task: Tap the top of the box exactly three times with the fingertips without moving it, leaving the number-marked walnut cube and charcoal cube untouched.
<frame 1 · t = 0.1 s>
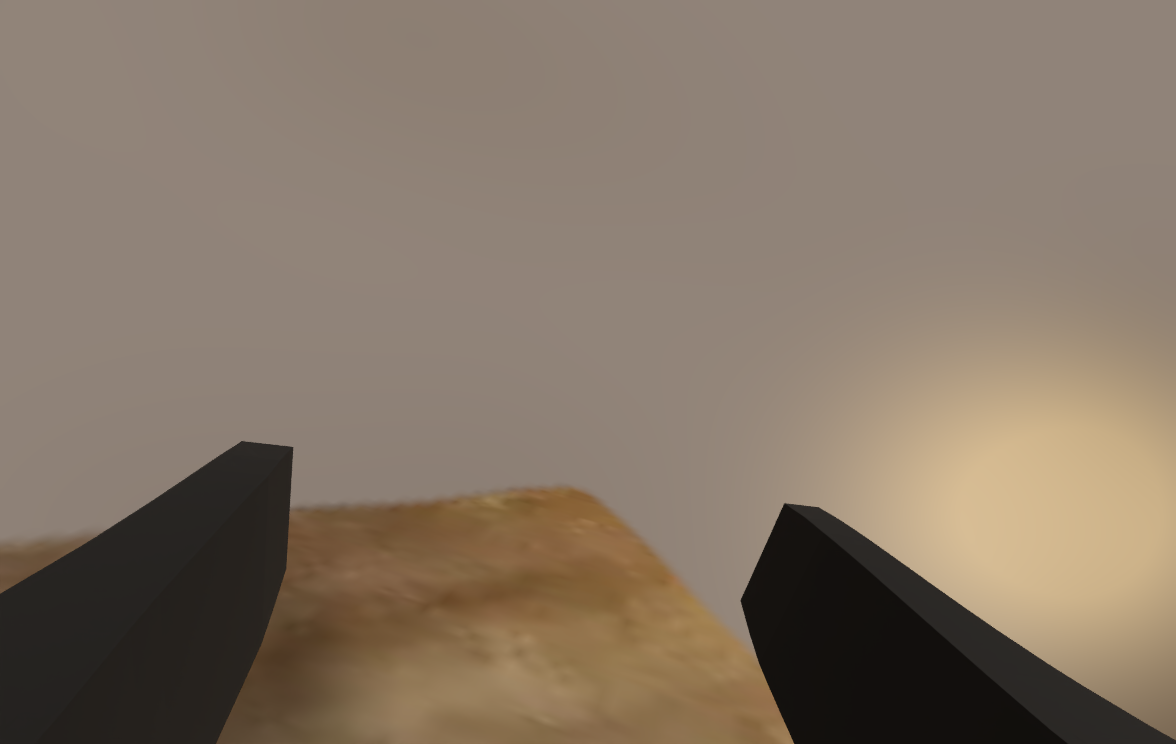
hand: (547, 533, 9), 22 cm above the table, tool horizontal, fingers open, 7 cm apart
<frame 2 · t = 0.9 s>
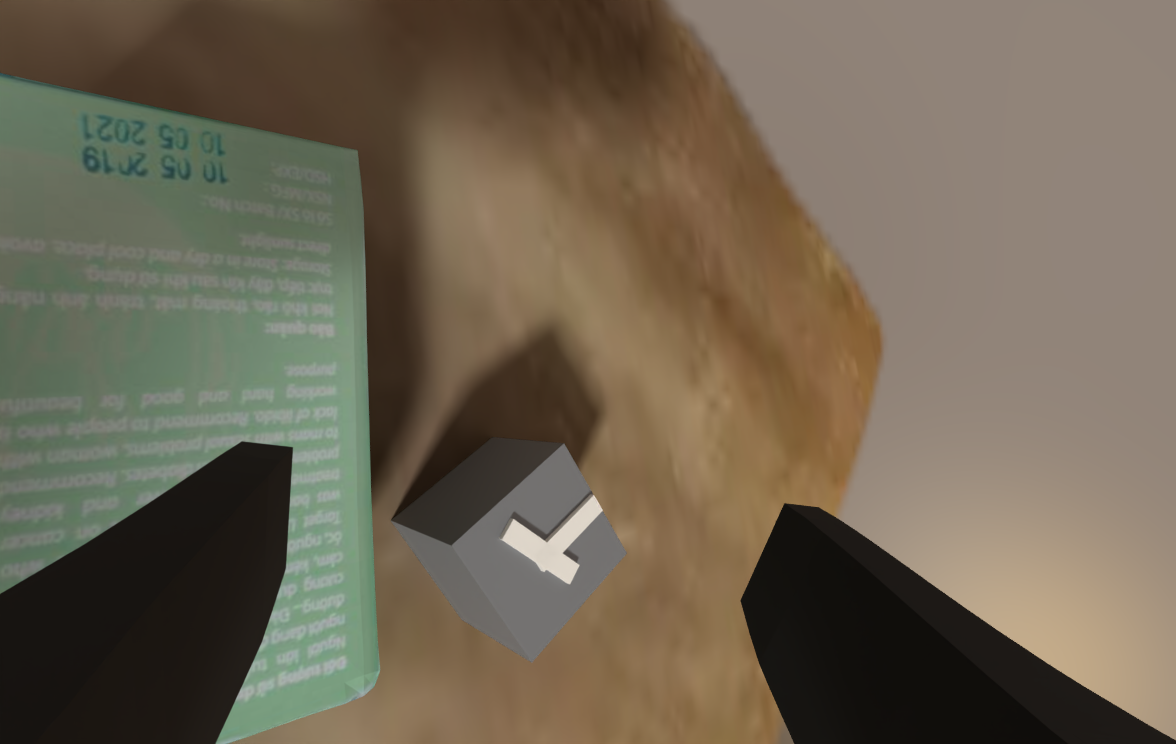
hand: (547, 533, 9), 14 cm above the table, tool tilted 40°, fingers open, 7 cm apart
charcoal cube: (476, 525, 24), on the table
box: (165, 427, 18), on the table
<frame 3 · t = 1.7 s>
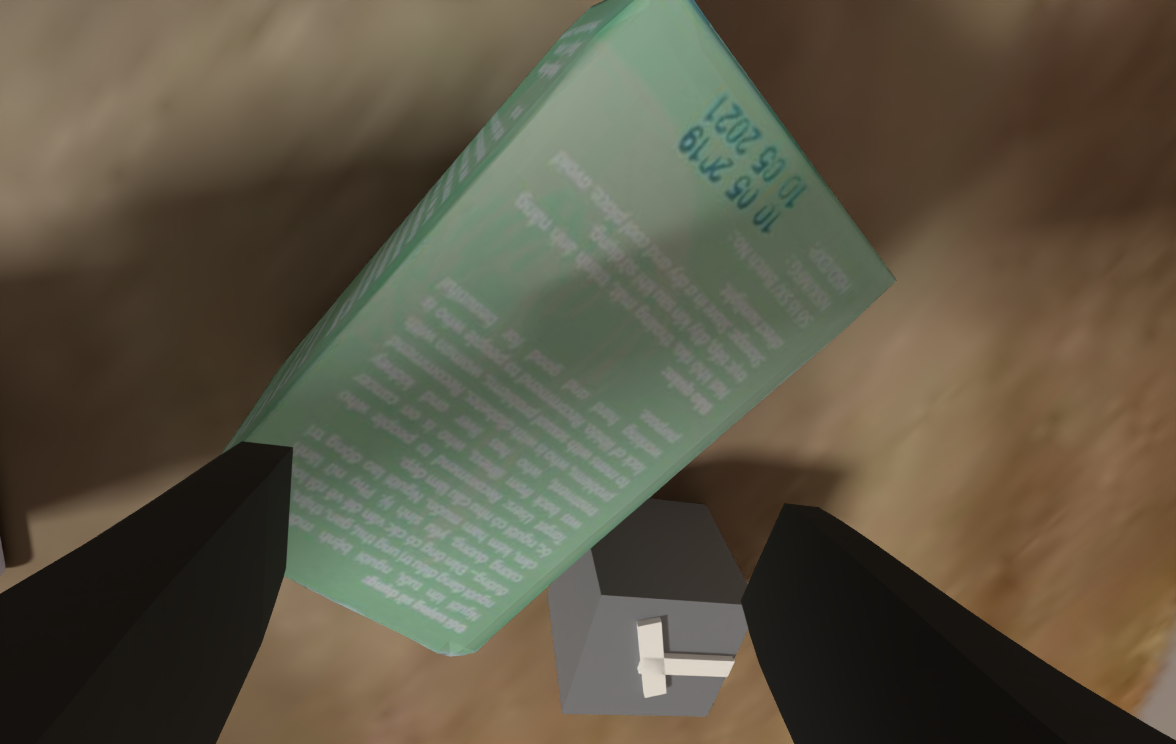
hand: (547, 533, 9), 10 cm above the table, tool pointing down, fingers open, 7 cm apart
charcoal cube: (625, 549, 23), on the table
box: (515, 287, 18), on the table
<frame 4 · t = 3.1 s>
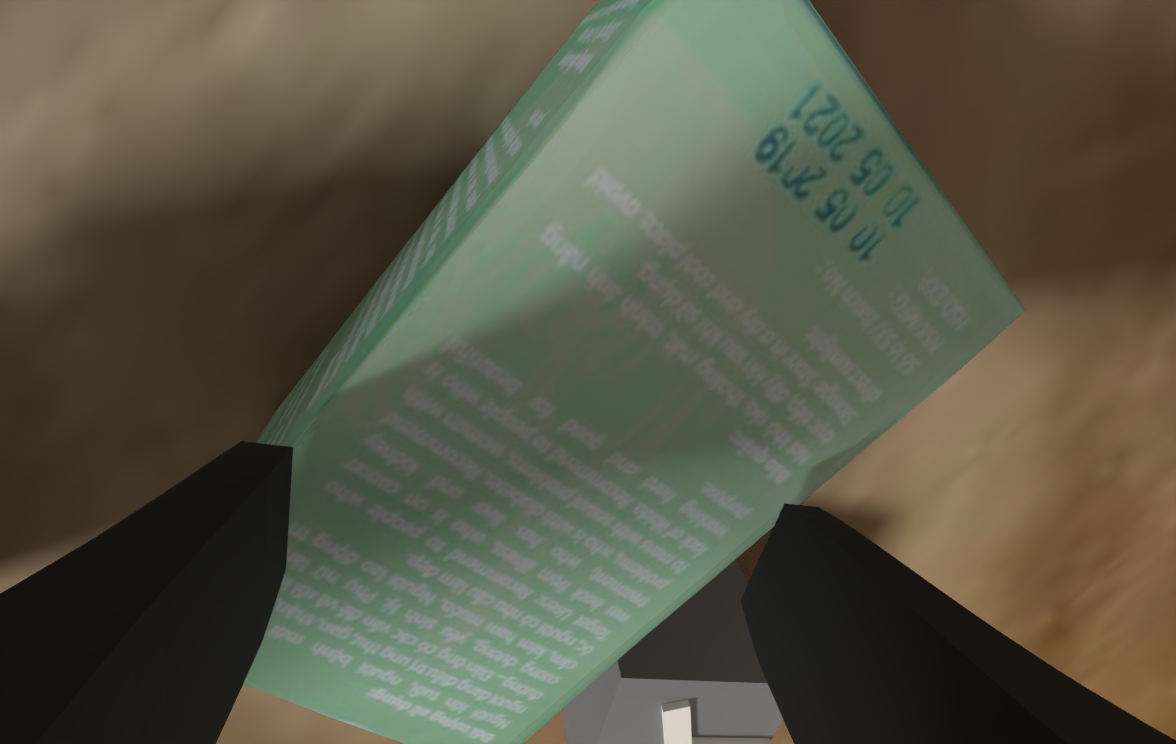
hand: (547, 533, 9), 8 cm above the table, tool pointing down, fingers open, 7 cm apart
charcoal cube: (642, 602, 21), on the table
box: (534, 315, 16), on the table
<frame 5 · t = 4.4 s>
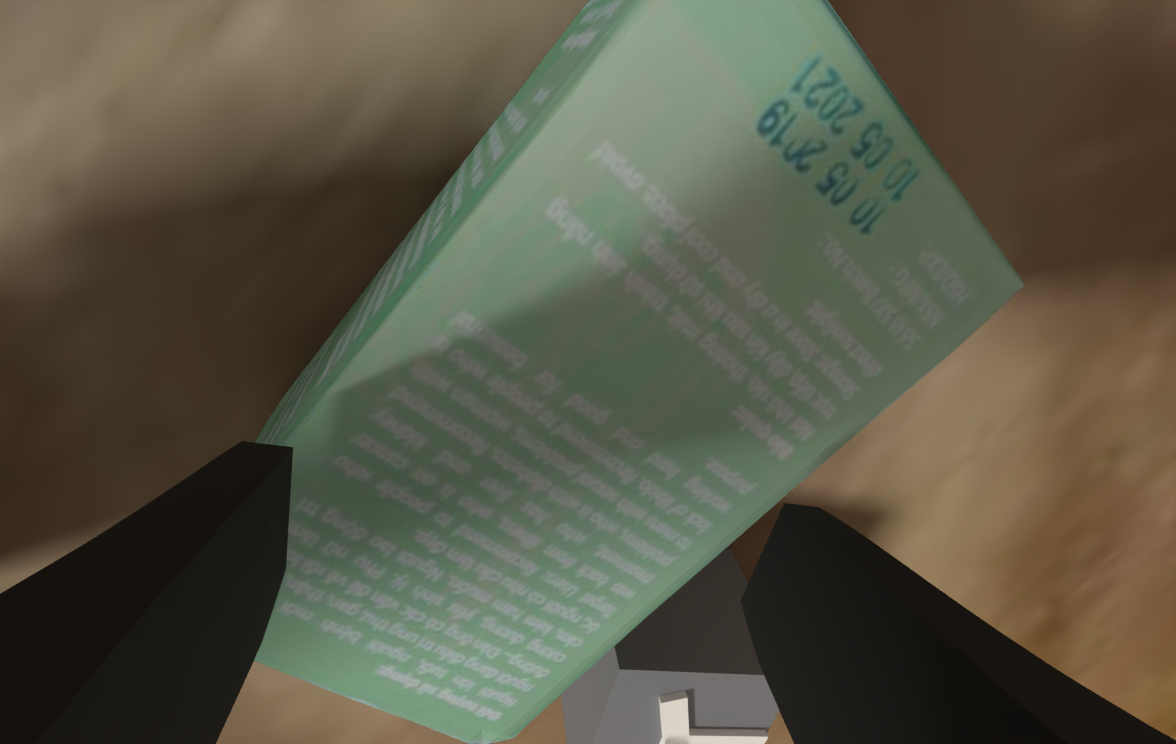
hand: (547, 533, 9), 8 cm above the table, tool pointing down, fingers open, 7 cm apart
charcoal cube: (640, 597, 21), on the table
box: (537, 302, 16), on the table
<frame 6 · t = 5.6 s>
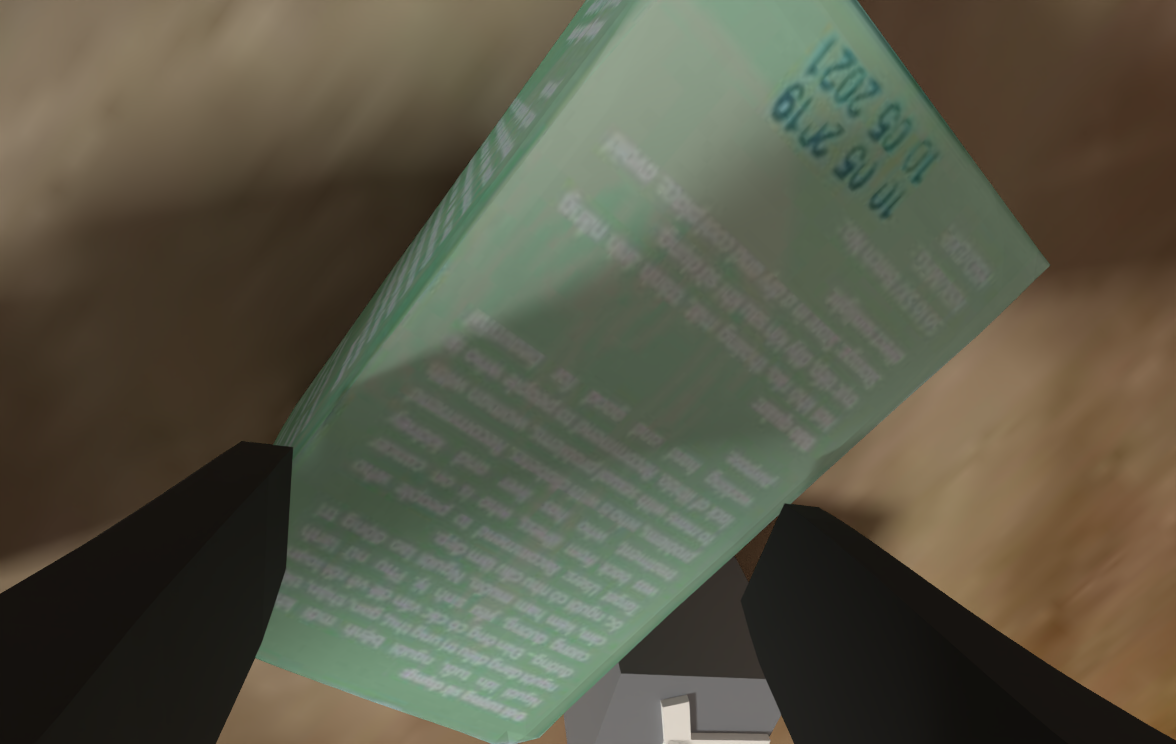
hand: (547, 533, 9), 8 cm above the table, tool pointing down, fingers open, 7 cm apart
charcoal cube: (641, 600, 21), on the table
box: (548, 300, 16), on the table
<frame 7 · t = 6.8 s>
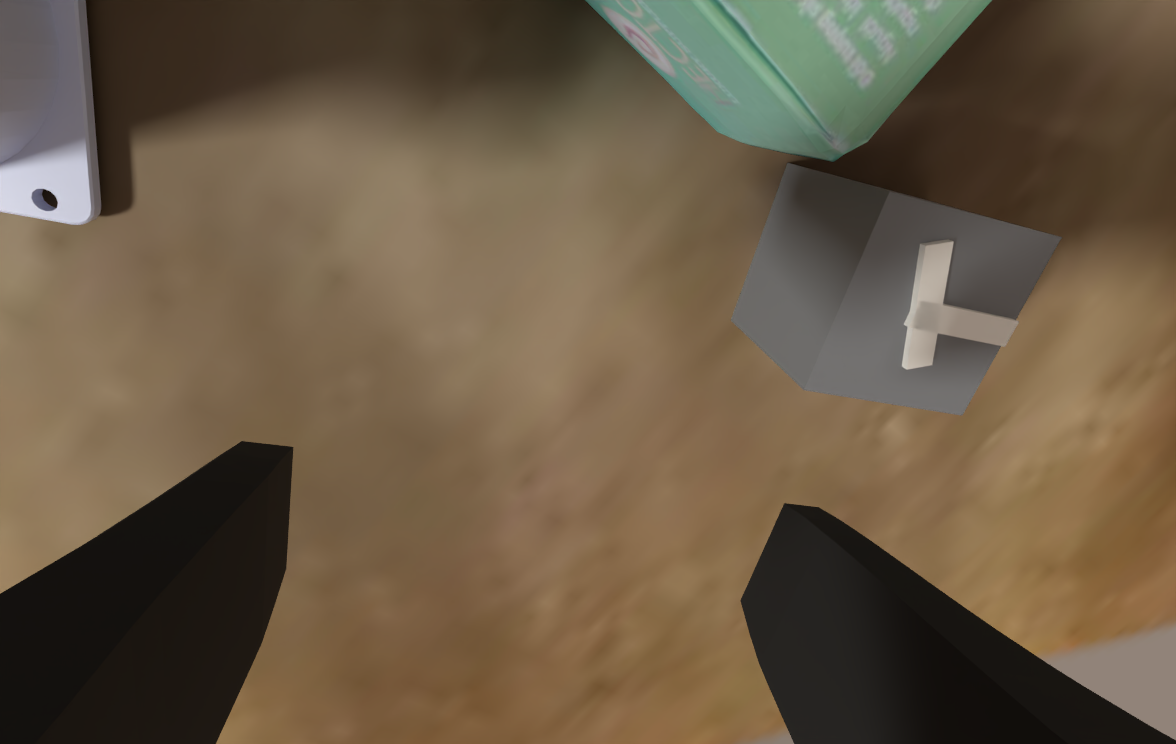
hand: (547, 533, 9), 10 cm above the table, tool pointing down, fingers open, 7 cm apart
charcoal cube: (825, 260, 19), on the table
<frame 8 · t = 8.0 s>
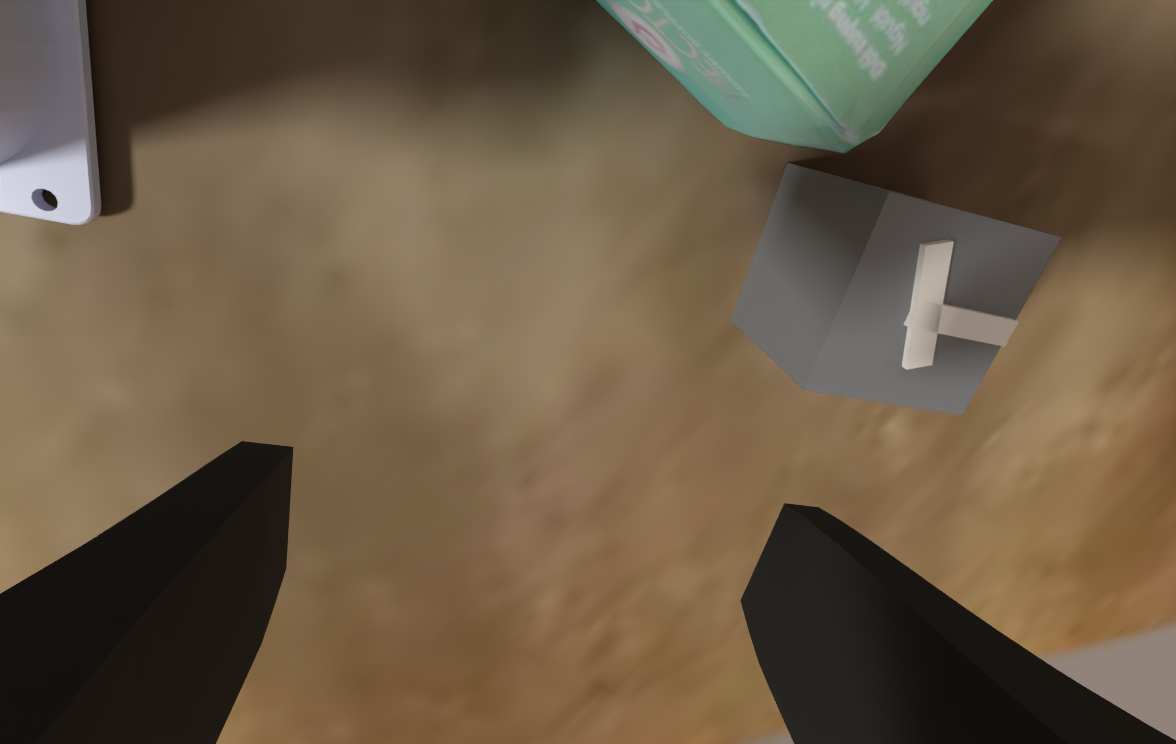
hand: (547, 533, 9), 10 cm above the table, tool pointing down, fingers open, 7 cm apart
charcoal cube: (825, 260, 19), on the table
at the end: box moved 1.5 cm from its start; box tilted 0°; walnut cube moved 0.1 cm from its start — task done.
